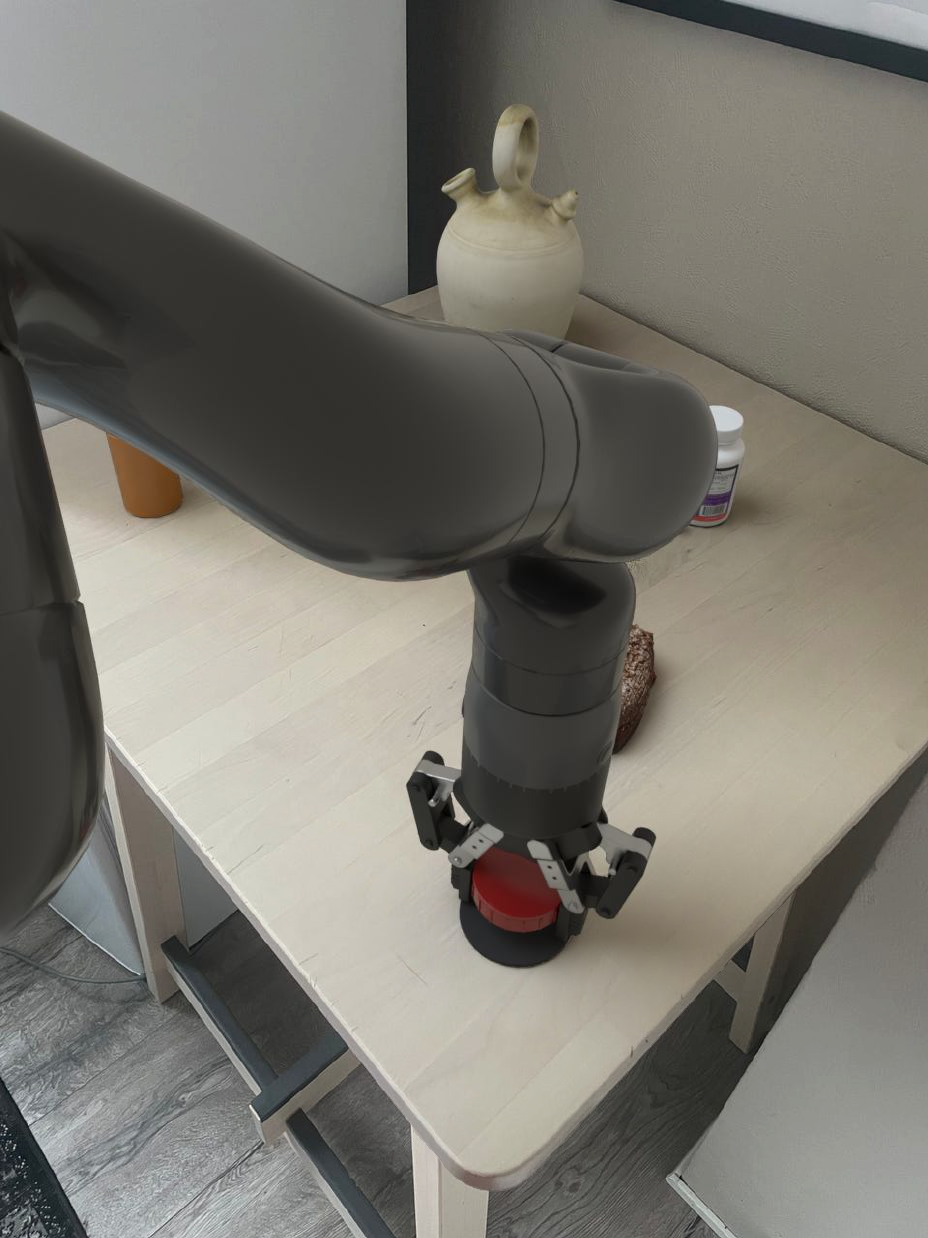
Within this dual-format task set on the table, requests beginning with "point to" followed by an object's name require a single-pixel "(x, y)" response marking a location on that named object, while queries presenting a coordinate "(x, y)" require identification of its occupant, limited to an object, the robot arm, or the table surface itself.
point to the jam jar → (144, 481)
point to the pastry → (635, 684)
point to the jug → (510, 242)
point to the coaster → (508, 940)
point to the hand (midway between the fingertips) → (516, 907)
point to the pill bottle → (723, 468)
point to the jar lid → (513, 892)
